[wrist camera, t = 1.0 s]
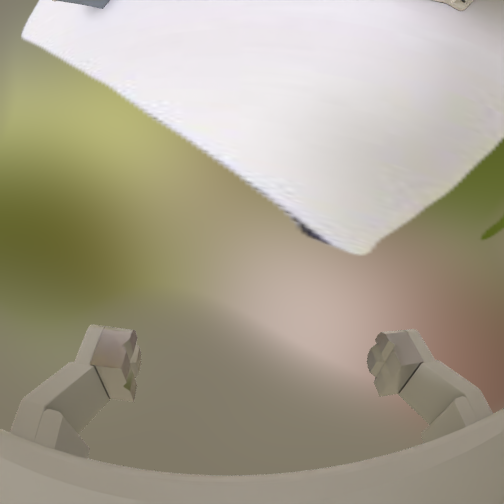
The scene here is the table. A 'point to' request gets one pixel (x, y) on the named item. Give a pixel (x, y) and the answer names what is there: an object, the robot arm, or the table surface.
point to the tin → (88, 2)
